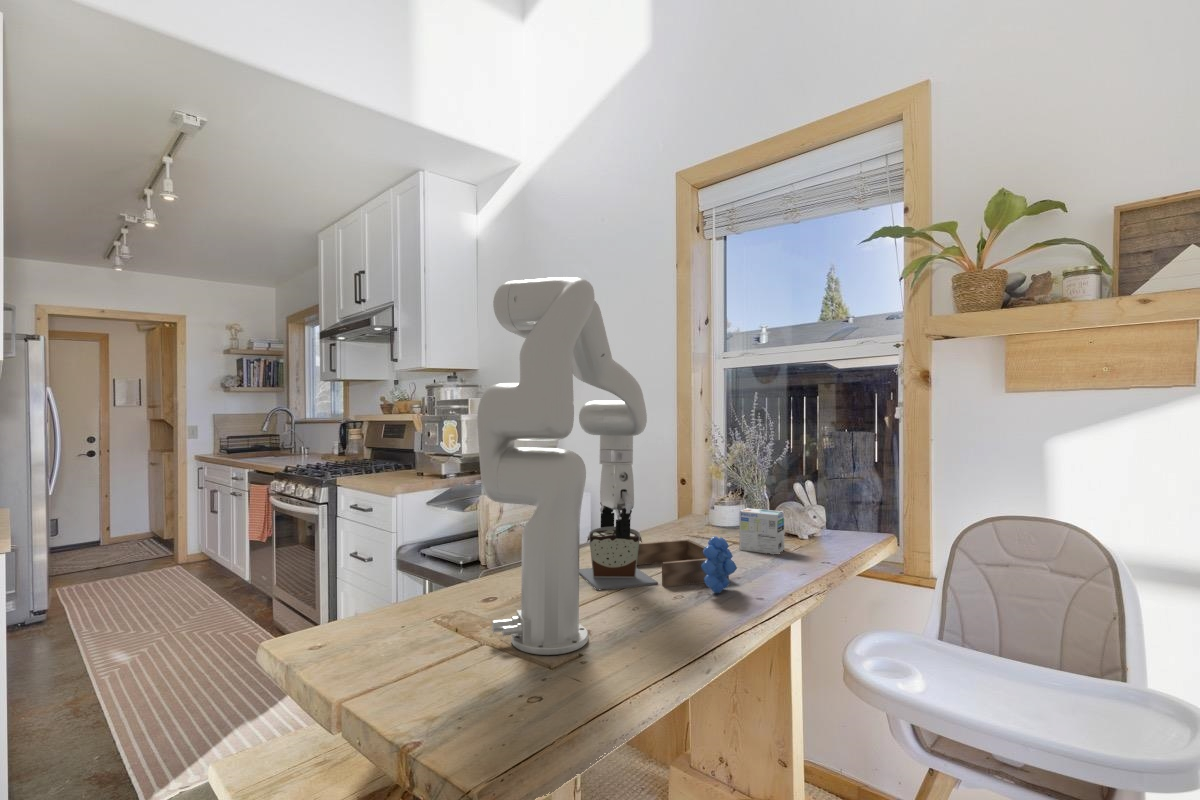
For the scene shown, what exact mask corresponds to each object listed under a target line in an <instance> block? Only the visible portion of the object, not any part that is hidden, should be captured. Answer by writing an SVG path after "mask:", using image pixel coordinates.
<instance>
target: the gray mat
mask: <svg viewBox="0 0 1200 800" xmlns="http://www.w3.org/2000/svg"><path fill="white" fill-rule="evenodd" d="M579 574H580V575H579V576H581V578H583V579H584V578H585V579H586V580H587V581H588V582H589V583H590V584H591V587H593V588H594V587H595V588H596V589H597V590H598V591H600V590H599V589H608V590H615V589H614V588H617V589H625V588H634V587H636V586H637V587H644V586H645V587H646V586H655V585H656V586H657V585H658V584H659V582H658V581H657V580H655V579H654V578H652V577H651V576H650V575H648V574H647V573H645V572H644V571H642V570H641V569H639V568H638V567H636V575H635V578H593V570H592V567H590V568H589V567H588V568H579ZM585 579H584V580H585ZM586 580H585V581H586ZM587 581H586V582H587ZM588 582H587V583H588ZM589 583H588V584H589ZM590 584H589V585H590ZM595 588H594V589H595ZM596 589H595V590H596ZM597 590H596V591H597Z"/></svg>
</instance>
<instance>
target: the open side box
mask: <svg viewBox="0 0 1200 800" xmlns="http://www.w3.org/2000/svg"><path fill="white" fill-rule="evenodd" d="M705 547H706V546H704V545H702V544H700V543H697V542H696V541H693V540H691V539H689V538H688V539H677V540H666V541H665V540H664V541H652V542H642V543H641V542H639V550H638V558H637V566H639V565H650V564H651V565H652V564H660V563H661V586H662V587H664V588H665V587H667V588H668V587H675V586H686V585H695V584H705V582H704V578H705V576H706V575H707V574H705V573H704V571H703V570H702V567H701V565H702V563H703V562H704V561H706V560H708V559H707V558H706V557H705V556H704V553H703V550H704V548H705ZM727 578H728V580H729V581H730V575H729V576H727Z"/></svg>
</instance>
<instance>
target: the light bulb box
mask: <svg viewBox="0 0 1200 800" xmlns="http://www.w3.org/2000/svg"><path fill="white" fill-rule="evenodd" d="M738 518H739V522H738V523H739V528H738V529H739V547H738V548H739V550H740V551H745V552H746V551H747V552H751V553H752V552H753V553H759V554H760V553H761V554H767V553H770V554H769V555H774V554H778V555H779V553H780V552H781V551H782V552H784V551H785V511H783V510H771V509H770V510H769V509H761V508H752V507H751V508H750V507H746V508H744V509H741V510H739V517H738ZM783 550H784V551H783ZM782 552H781V553H782ZM781 553H780V554H781Z"/></svg>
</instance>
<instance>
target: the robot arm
mask: <svg viewBox="0 0 1200 800" xmlns="http://www.w3.org/2000/svg"><path fill="white" fill-rule="evenodd" d="M492 304H493V305H492V306H493V307H492V308H493V312H494V315H495V318H496V319H497V322H498V323H499V324H500V326H501V327H502V328H504V329H505V330H506V331H508V332H510V333H512V334H515V335H517V336H519V337H522V338H524V339H525V340H524V341H523V343H522V345H521V347H520V351H519V382H501V383H496V384H492V385H491V386H489V387H488V388H486V389H485V390H484V391H483V394H482V395H481V397H480V400H479V401H478V402H479V403H478V406H477V407H478V408H477V417H476V418H477V419H476V422H477V440H478V441H477V442H478V453H479V455H478V456H479V469H480V478H481V479H480V480H481V481H480V482H481V486H482V489H483V491H484V492H483V493H484V494H485V496H486V497H487V498H488V499H489V500H491V501H493V502H495V503H499V504H508V505H509V504H510V505H511V504H512V505H524V506H526V505H528V506H533V507H535V508H536V510H535V511H534V513H533V515H531V517H530V519H528V521H527V522H526V524H525V526H524V527H523V531H522V534H521V587H520V588H521V589H520V590H521V591H520V595H521V596H520V597H521V599H520V602H521V603H520V609H516V615H513V616H510V618H506V619H504V618H499V619H492V620H491V631H492V633H499V632H501V635H502V636H503V637H505V636H511V637H510V638H511V639H510V640H511V643H512V645H513V647H515V648H516V649H518V650H520V651H521V652H525V653H529V654H532V655H540V656H541V655H542V656H543V655H544V656H553V655H554V656H555V655H563V654H567V653H571V652H574V651H577V650H579V649H582V647H584V646H585V645H586V644H587V643H588V640H589V632H588V630H587V628H586V627H584V626H583V625H582V624H581V623H580V575H579V569H580V540H581V539H580V531H581V529H580V528H581V527H580V526H581V525H580V524H581V512H582V506H583V505H582V502H583V499H584V498H583V497H584V491H585V485H586V478H587V470H586V464H585V461H584V460H583V458H582V457H581V456H580V455H579V454H577V453H576V452H574V451H572V450H569V449H564V448H557V447H536V446H535V447H534V446H533V447H528V446H527V447H526V446H525V447H522V446H515V442H516V441H531V442H533V441H535V442H537V441H538V442H549V441H550V442H551V441H559V440H564V439H566V438H567V437H568V436H569V435H570V434H571V433H572V431H573V427H574V420H575V405H574V404H575V402H574V400H575V399H574V379H573V377H575V378H576V379H577V380H579V381H581V382H583V383H586V384H588V385H590V386H592V387H595V388H597V389H600V390H603V391H606V392H609V393H610V394H612V395H614V396H616V397H618V398H619V399H617V400H616V399H614V400H613V399H611V400H610V399H608V400H590V401H587V402H586V403H584V404H583V405H582V406H581V408H580V411H579V413H578V419H579V420H578V421H579V424H580V428H581V429H582V430H583V431H584V432H585V433H586V434H588V435H590V436H591V435H593V436H599V465H601V471H600V472H601V473H600V486H599V488H600V489H599V494H600V495H599V496H600V497H599V499H600V506H601V507H600V508H599V509H600V527H599V528H601V527H616V538H617V539H620V538H630V528H631V520H632V512H633V511H632V510H633V509H634V507H635V489H634V488H635V486H634V485H635V484H634V472H633V471H634V470H633V461H634V450H633V449H634V436H639V435H641V434H642V433H643V432H644V430H645V429H646V427H647V422H648V421H647V420H648V419H647V418H648V417H647V416H648V414H647V407H646V403H645V399H644V394H643V390H642V387H641V385H640V384H639V382H638V381H637V379H636V378H635V377H634V376H633V374H631V373H630V372H629V371H628V370H627V369H626V368H625V367H624V366H623V365H621V364H620V363H618V362H617V361H616V360H614V359H613V356H612V353H611V347H610V344H609V339H608V337H607V331H606V326H605V323H604V319H603V316H602V311H601V307H600V306H599V304H598V302H597V301H596V299H595V290H594V287H593V284H592V283H591V282H590V281H588V280H586V279H584V278H581V277H573V276H572V277H568V276H566V277H565V276H563V277H562V276H561V277H560V276H559V277H546V278H535V279H524V280H523V279H520V280H510V281H506V282H504V283H502V284H501V285H500V286H498V288H497V289H496V291H495V293H494V296H493V303H492ZM614 511H615V512H614ZM615 513H616V514H615ZM615 515H616V517H617V519H615Z"/></svg>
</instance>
